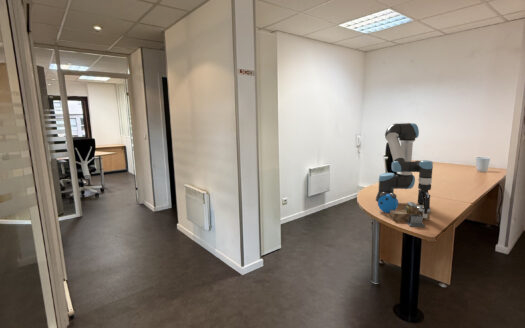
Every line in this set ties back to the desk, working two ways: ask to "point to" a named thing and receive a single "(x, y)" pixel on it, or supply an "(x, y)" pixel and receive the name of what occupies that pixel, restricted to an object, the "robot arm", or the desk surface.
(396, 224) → the desk surface
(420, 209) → the axle
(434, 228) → the desk surface
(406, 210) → the tan rectangular block
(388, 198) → the alarm clock
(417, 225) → the grey slotted plate stand
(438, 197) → the desk surface
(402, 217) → the beam
